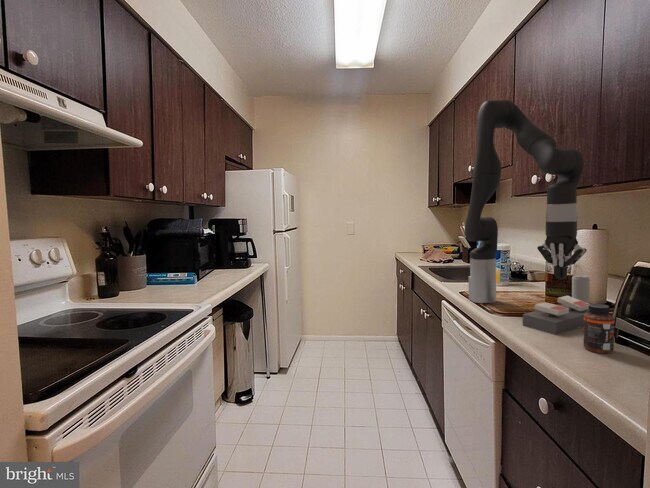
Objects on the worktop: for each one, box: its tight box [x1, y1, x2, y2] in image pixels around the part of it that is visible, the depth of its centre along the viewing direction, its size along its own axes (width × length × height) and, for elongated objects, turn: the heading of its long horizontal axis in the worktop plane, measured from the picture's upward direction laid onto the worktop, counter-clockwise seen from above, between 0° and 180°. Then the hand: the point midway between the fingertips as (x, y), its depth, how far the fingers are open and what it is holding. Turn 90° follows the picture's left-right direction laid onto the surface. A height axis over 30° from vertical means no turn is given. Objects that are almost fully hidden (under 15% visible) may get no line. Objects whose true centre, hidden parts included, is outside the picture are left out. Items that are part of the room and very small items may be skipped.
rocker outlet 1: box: [534, 302, 569, 316], centre depth 103 cm, size 7×5×2 cm
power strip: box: [522, 304, 589, 336], centre depth 105 cm, size 10×22×4 cm, turn 114°
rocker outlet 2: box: [556, 294, 590, 311], centre depth 107 cm, size 7×5×2 cm
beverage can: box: [571, 274, 591, 304], centre depth 116 cm, size 5×5×12 cm
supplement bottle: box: [583, 303, 615, 355], centre depth 84 cm, size 6×6×11 cm
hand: (560, 278), depth 100 cm, fingers closed
